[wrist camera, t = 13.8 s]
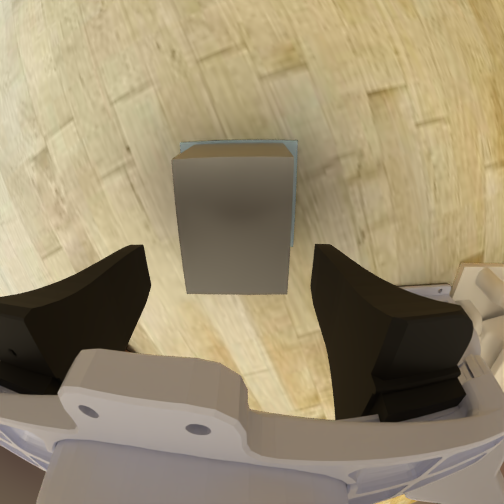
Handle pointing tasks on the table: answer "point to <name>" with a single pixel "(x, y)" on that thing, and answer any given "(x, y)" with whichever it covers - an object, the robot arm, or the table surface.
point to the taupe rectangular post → (234, 217)
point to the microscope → (484, 309)
